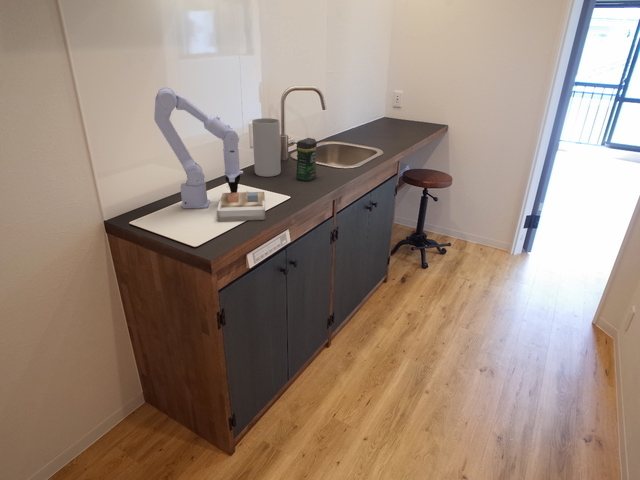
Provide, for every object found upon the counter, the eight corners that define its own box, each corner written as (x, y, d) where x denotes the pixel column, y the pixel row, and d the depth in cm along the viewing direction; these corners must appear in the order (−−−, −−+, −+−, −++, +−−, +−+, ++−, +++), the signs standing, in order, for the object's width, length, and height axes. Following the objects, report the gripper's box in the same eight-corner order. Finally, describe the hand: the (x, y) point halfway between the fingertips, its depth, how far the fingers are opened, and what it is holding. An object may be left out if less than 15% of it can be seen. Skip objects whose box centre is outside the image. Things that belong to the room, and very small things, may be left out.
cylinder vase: (278, 168, 210) (276, 117, 199) (282, 176, 199) (281, 123, 188) (253, 170, 207) (250, 118, 196) (256, 178, 196) (253, 123, 185)
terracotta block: (228, 202, 161) (227, 196, 160) (228, 198, 164) (228, 192, 163) (238, 202, 161) (238, 196, 160) (239, 198, 165) (238, 192, 164)
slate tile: (247, 201, 162) (247, 195, 161) (247, 198, 165) (247, 192, 164) (258, 201, 162) (257, 195, 161) (258, 197, 166) (257, 191, 165)
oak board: (220, 211, 159) (219, 205, 158) (222, 198, 171) (222, 192, 170) (264, 210, 161) (264, 204, 160) (264, 197, 173) (264, 191, 172)
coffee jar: (308, 182, 192) (308, 142, 183) (293, 179, 195) (293, 139, 187) (318, 177, 199) (319, 138, 191) (305, 174, 203) (305, 135, 194)
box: (218, 221, 151) (216, 211, 149) (220, 211, 159) (219, 201, 157) (265, 219, 153) (264, 209, 151) (264, 210, 161) (264, 200, 159)
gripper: (241, 165, 156) (243, 199, 162) (242, 155, 169) (244, 187, 175) (222, 166, 155) (225, 200, 161) (224, 155, 168) (227, 187, 174)
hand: (234, 193), depth 168 cm, fingers closed
